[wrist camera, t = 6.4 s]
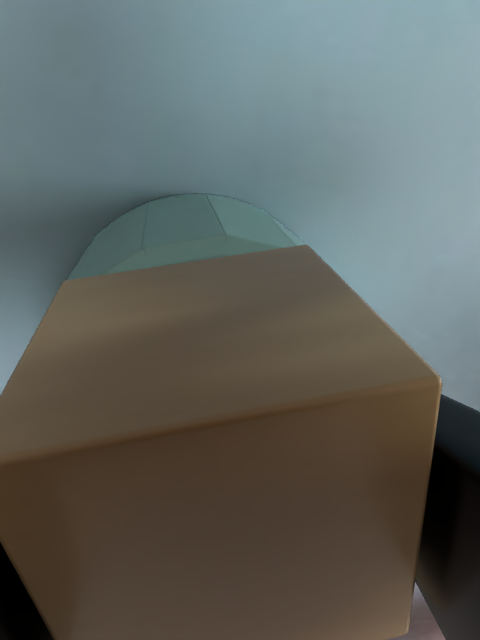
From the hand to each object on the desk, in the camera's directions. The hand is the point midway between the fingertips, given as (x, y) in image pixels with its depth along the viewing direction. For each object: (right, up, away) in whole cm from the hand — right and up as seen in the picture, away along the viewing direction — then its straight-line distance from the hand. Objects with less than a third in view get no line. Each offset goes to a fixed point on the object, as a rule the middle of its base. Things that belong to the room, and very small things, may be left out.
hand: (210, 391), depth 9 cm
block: (0, +1, +1) cm, 1 cm away
